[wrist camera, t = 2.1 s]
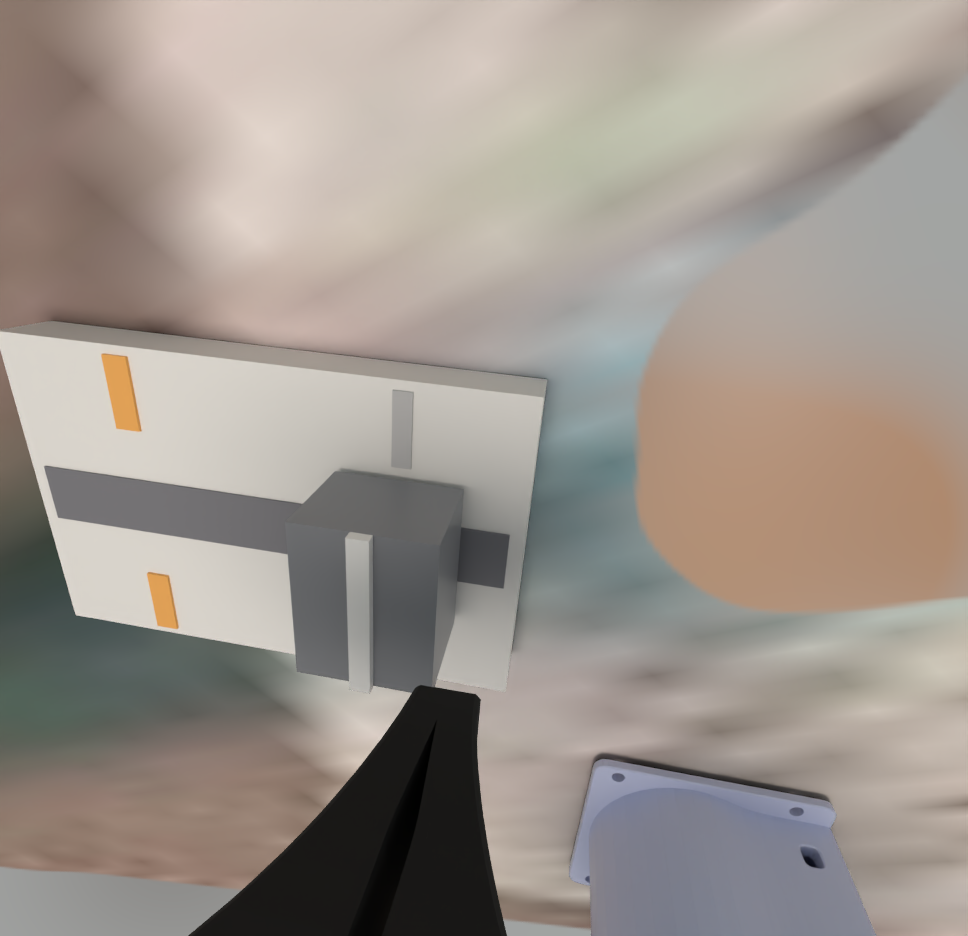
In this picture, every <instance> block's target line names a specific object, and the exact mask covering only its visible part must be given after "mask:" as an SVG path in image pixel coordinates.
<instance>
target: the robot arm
mask: <svg viewBox="0 0 968 936" xmlns="http://www.w3.org/2000/svg"><path fill="white" fill-rule="evenodd" d="M480 701H481V699H480V698H479V697H478V696H477V695H476V694H471V693H465V692H459V691H453V690H447V689H442V688H436V687H430V686H424V685H419V686H417V687H416V688H415V689H414V690H413V692H412V694H411V696H410V697H409V699H408V701H407V702H406V704H405V705H404V707H403V708H402V710H401V712H400V713H399V715H398V716H397V717H396V719H395V720H394V722H393V723H392V725H391V726H390V727H389V729H388V730H387V732H386V733H385V734H384V736H383V737H382V739H381V740H380V741H379V743H378V744H377V745H376V746H375V748H374V749H373V750H372V752H371V753H370V754H369V756H368V757H367V758H366V759H365V761H364V762H363V763H362V765H361V766H360V767H359V768H358V770H357V771H356V772H355V773H354V775H353V776H352V777H351V778H350V779H349V780H348V782H347V783H346V784H345V785H344V786H343V787H342V789H341V790H340V791H339V792H338V793H337V794H336V796H335V797H334V798H333V799H332V800H331V801H330V803H329V804H328V805H327V806H326V807H325V808H324V809H323V810H322V812H321V813H320V814H319V815H318V816H317V817H316V818H315V819H314V820H313V821H312V822H311V823H310V825H309V826H308V827H307V828H306V829H305V830H304V831H303V832H302V833H301V834H300V835H299V836H298V837H297V838H296V839H295V840H294V841H293V842H292V843H291V844H290V845H289V846H288V847H287V848H286V849H285V850H284V851H283V852H282V853H281V854H280V855H279V856H278V857H277V858H276V859H275V860H274V861H273V862H272V863H271V864H270V865H268V866H267V867H266V868H265V869H264V870H263V871H262V872H261V873H260V874H259V875H258V876H257V877H256V878H255V879H254V880H253V881H252V882H250V883H249V884H248V885H247V886H246V887H245V888H244V889H243V890H242V891H240V892H239V893H238V894H237V895H236V896H235V897H234V898H233V899H232V900H231V901H229V902H228V903H227V904H226V905H224V906H223V907H222V908H221V909H220V910H218V911H217V912H216V913H215V914H214V915H213V916H211V917H210V918H209V919H208V920H207V921H205V922H204V923H203V924H202V925H201V926H199V927H198V928H197V929H196V930H195V931H193V932H192V933H191V934H190V935H189V936H507V934H506V930H505V926H504V921H503V917H502V913H501V909H500V904H499V900H498V895H497V890H496V886H495V881H494V876H493V871H492V866H491V861H490V855H489V849H488V844H487V837H486V831H485V824H484V818H483V810H482V803H481V793H480V783H479V773H478V759H477V734H478V723H479V712H480ZM835 819H836V813H835V810H834V808H833V806H832V804H831V803H829V802H828V801H825V800H821V799H816V798H810V797H805V796H800V795H794V794H789V793H784V792H779V791H773V790H768V789H763V788H757V787H752V786H747V785H742V784H736V783H731V782H726V781H720V780H715V779H710V778H704V777H699V776H694V775H689V774H683V773H678V772H673V771H667V770H662V769H657V768H651V767H646V766H641V765H636V764H630V763H625V762H620V761H614V760H609V759H601V760H598V761H596V762H595V764H594V765H593V769H592V774H591V778H590V782H589V786H588V790H587V795H586V799H585V803H584V807H583V811H582V816H581V820H580V824H579V828H578V832H577V836H576V841H575V845H574V849H573V853H572V857H571V862H570V866H569V877H570V878H571V879H572V880H573V881H574V882H577V883H580V884H585V885H589V886H590V908H591V936H876V934H875V931H874V929H873V927H872V924H871V922H870V920H869V917H868V915H867V913H866V910H865V908H864V906H863V903H862V901H861V899H860V896H859V894H858V892H857V889H856V887H855V885H854V882H853V880H852V878H851V875H850V873H849V871H848V868H847V866H846V864H845V861H844V859H843V857H842V854H841V852H840V850H839V847H838V845H837V842H836V840H835V838H834V835H833V833H832V831H831V829H830V828H831V826H832V824H833V823H834V821H835Z"/></svg>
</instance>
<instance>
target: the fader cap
mask: <svg viewBox="0 0 968 936" xmlns="http://www.w3.org/2000/svg"><path fill="white" fill-rule="evenodd" d="M463 496H464V489H460V488H452V487H445V486H438V485H431V484H424V483H417V482H410V481H403V480H396V479H389V478H382V477H375V476H368V475H361V474H354V473H346V472H339V471H335V472H334V473H333V474H332V475H331V476H330V477H329V478H328V479H327V480H326V481H325V482H324V483H323V484H322V485H321V486H320V487H319V488H318V489H317V490H316V491H315V492H314V493H313V494H312V495H311V496H310V497H309V498H308V499H307V500H306V501H305V502H304V503H303V504H302V505H301V506H300V507H299V508H298V509H297V510H296V511H295V512H294V513H293V514H292V515H291V516H290V517H289V518H288V519H287V520H286V521H285V529H286V541H287V554H288V566H289V579H290V591H291V604H292V616H293V629H294V642H295V654H296V667H297V672H302V673H307V674H313V675H318V676H324V677H329V678H335V679H340V680H346V681H349V690H353V691H358V692H363V693H369V694H370V692H371V690H372V688H373V686H378V687H384V688H389V689H395V690H400V691H406V692H411V693H412V692H413V690H414V689H415V688H416V687H417V686H419V685H424V686H430V687H435V683H436V680H437V677H438V673H439V670H440V667H441V664H442V660H443V657H444V654H445V651H446V647H447V644H448V641H449V638H450V634H451V631H452V628H453V624H454V618H455V604H456V591H457V577H458V564H459V550H460V536H461V523H462V509H463Z"/></svg>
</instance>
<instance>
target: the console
mask: <svg viewBox="0 0 968 936" xmlns="http://www.w3.org/2000/svg"><path fill="white" fill-rule="evenodd" d="M0 350H1V354H2V357H3V361H4V364H5V368H6V371H7V375H8V378H9V382H10V385H11V389H12V392H13V396H14V399H15V403H16V406H17V410H18V413H19V417H20V421H21V424H22V428H23V431H24V435H25V438H26V442H27V445H28V449H29V452H30V456H31V459H32V463H33V466H34V470H35V473H36V477H37V480H38V484H39V487H40V491H41V494H42V498H43V501H44V505H45V508H46V512H47V516H48V519H49V523H50V526H51V530H52V533H53V537H54V540H55V544H56V547H57V551H58V554H59V558H60V561H61V565H62V568H63V572H64V575H65V579H66V582H67V586H68V589H69V593H70V596H71V600H72V603H73V607H74V611H75V614H76V615H79V616H84V617H90V618H96V619H101V620H107V621H112V622H118V623H123V624H129V625H135V626H140V627H146V628H151V629H157V630H162V631H168V632H174V633H179V634H185V635H190V636H196V637H201V638H207V639H213V640H218V641H224V642H229V643H235V644H240V645H246V646H252V647H257V648H263V649H268V650H274V651H279V652H285V653H291V654H295V642H294V629H293V616H292V604H291V591H290V579H289V566H288V554H287V541H286V529H285V521H286V520H287V519H288V518H289V517H290V516H291V515H292V514H293V513H294V512H295V511H296V510H297V509H298V508H299V507H300V506H301V505H302V504H303V503H304V502H305V501H306V500H307V499H308V498H309V497H310V496H311V495H312V494H313V493H314V492H315V491H316V490H317V489H318V488H319V487H320V486H321V485H322V484H323V483H324V482H325V481H326V480H327V479H328V478H329V477H330V476H331V475H332V474H333V473H334V472H335V471H339V472H346V473H354V474H361V475H368V476H375V477H382V478H389V479H396V480H403V481H410V482H417V483H424V484H431V485H438V486H445V487H452V488H460V489H464V496H463V509H462V523H461V536H460V550H459V564H458V577H457V591H456V604H455V618H454V624H453V628H452V631H451V634H450V638H449V641H448V644H447V647H446V651H445V654H444V657H443V660H442V664H441V667H440V670H439V673H438V677H437V680H441V681H447V682H452V683H458V684H463V685H469V686H474V687H480V688H486V689H491V690H497V691H502V692H506V686H507V679H508V672H509V666H510V659H511V652H512V645H513V637H514V629H515V622H516V614H517V607H518V599H519V592H520V584H521V576H522V569H523V561H524V554H525V546H526V538H527V531H528V523H529V516H530V508H531V500H532V493H533V485H534V478H535V470H536V463H537V455H538V447H539V440H540V432H541V425H542V417H543V409H544V402H545V394H546V387H547V379H539V378H531V377H522V376H514V375H505V374H497V373H489V372H480V371H472V370H463V369H455V368H446V367H438V366H429V365H421V364H412V363H404V362H396V361H387V360H379V359H370V358H362V357H353V356H345V355H336V354H328V353H319V352H311V351H302V350H294V349H286V348H277V347H269V346H260V345H252V344H243V343H235V342H226V341H218V340H209V339H201V338H193V337H184V336H176V335H167V334H159V333H150V332H142V331H133V330H125V329H116V328H108V327H99V326H91V325H83V324H74V323H66V322H57V321H47V322H42V323H36V324H30V325H24V326H19V327H13V328H7V329H2V330H0Z"/></svg>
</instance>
